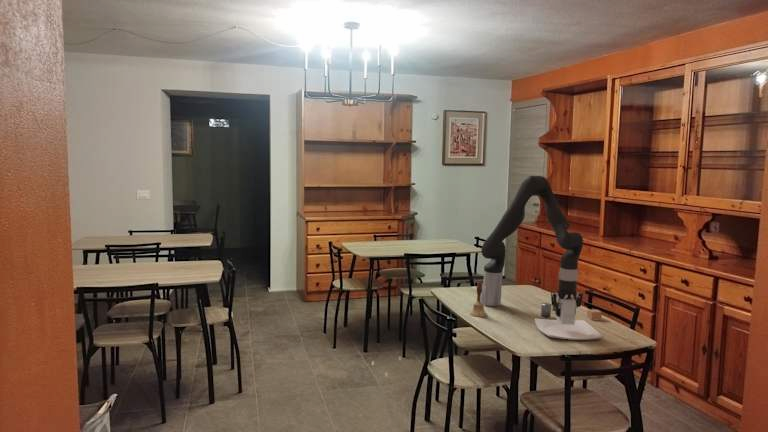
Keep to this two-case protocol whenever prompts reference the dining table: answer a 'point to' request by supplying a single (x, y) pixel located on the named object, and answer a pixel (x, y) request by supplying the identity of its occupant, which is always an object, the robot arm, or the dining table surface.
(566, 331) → the plate
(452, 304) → the dining table surface
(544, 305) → the slate grey cylinder
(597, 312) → the terracotta block
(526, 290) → the dining table surface
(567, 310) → the small box
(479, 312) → the hand bell
